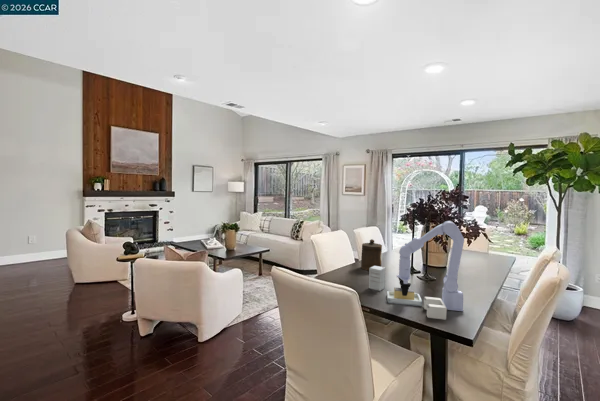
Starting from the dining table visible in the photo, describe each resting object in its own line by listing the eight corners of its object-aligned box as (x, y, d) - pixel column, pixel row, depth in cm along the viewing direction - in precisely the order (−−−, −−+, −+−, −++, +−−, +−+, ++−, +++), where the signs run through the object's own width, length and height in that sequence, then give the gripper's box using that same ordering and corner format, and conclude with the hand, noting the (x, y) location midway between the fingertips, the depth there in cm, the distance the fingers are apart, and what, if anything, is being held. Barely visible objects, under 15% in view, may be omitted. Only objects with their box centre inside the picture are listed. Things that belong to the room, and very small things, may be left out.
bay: (440, 308, 152) (440, 298, 152) (446, 319, 140) (446, 308, 140) (423, 307, 154) (423, 296, 154) (427, 317, 142) (428, 306, 141)
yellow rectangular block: (413, 298, 164) (413, 289, 164) (414, 302, 159) (414, 292, 159) (393, 296, 167) (394, 287, 166) (394, 300, 162) (394, 290, 162)
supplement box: (373, 285, 188) (374, 265, 187) (385, 288, 183) (385, 267, 182) (368, 288, 182) (369, 267, 181) (380, 291, 177) (380, 269, 177)
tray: (418, 298, 167) (419, 293, 167) (422, 306, 155) (422, 301, 155) (386, 294, 171) (387, 290, 171) (387, 302, 159) (387, 298, 159)
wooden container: (385, 269, 224) (386, 240, 223) (370, 272, 217) (371, 241, 216) (371, 265, 237) (372, 237, 236) (356, 267, 230) (357, 238, 229)
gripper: (396, 264, 170) (395, 288, 171) (397, 271, 156) (397, 297, 157) (409, 265, 169) (408, 289, 169) (412, 272, 155) (411, 298, 155)
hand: (403, 293), depth 163 cm, fingers open, 7 cm apart
